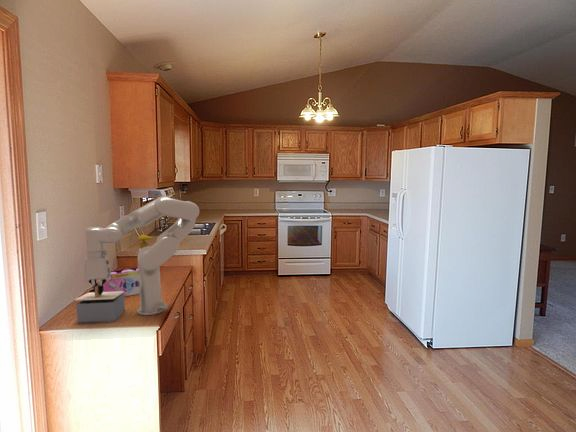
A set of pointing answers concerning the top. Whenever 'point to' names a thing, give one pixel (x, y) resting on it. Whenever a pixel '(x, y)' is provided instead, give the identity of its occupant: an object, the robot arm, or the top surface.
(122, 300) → the carton
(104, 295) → the carton flap
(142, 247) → the soap bottle
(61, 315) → the top surface
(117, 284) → the gum box
